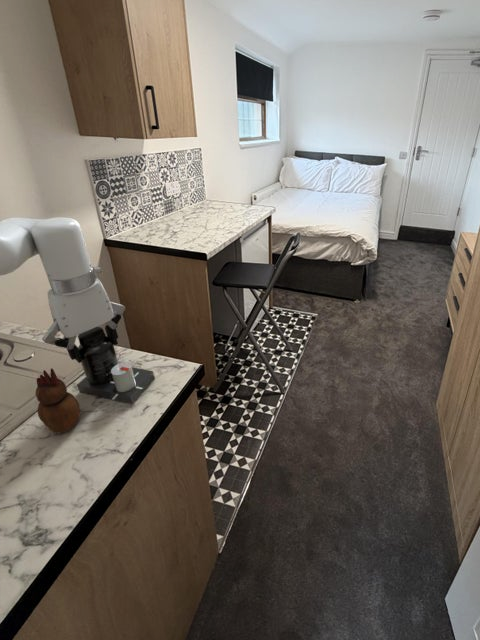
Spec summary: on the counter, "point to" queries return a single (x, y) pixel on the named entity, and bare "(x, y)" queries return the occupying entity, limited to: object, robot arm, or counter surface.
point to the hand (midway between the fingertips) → (96, 350)
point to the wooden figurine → (56, 404)
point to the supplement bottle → (97, 355)
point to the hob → (110, 391)
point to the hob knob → (123, 377)
